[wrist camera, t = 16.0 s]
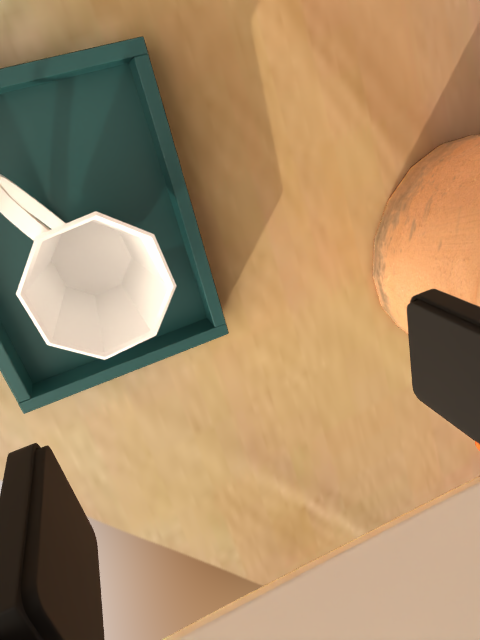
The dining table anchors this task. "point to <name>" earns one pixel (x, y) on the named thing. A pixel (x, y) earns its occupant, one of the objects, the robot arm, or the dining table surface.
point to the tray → (96, 205)
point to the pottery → (431, 230)
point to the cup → (88, 278)
